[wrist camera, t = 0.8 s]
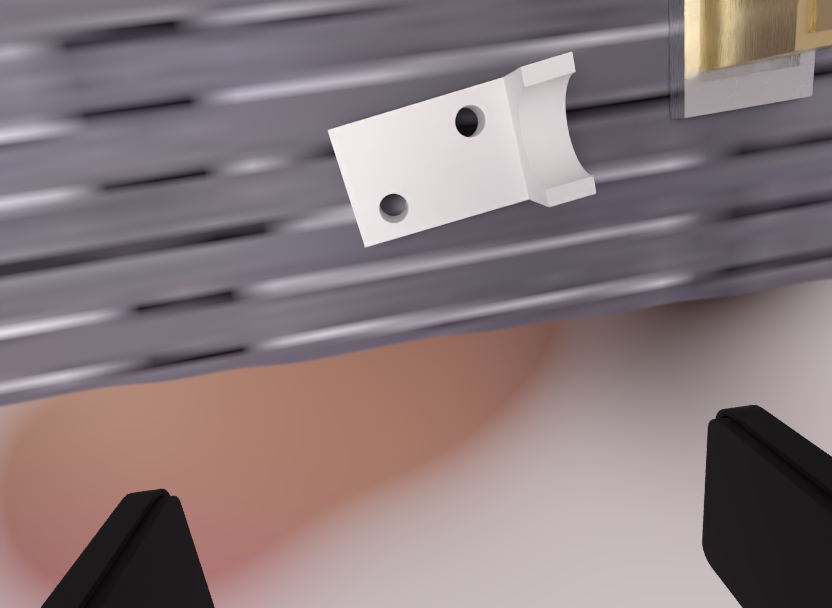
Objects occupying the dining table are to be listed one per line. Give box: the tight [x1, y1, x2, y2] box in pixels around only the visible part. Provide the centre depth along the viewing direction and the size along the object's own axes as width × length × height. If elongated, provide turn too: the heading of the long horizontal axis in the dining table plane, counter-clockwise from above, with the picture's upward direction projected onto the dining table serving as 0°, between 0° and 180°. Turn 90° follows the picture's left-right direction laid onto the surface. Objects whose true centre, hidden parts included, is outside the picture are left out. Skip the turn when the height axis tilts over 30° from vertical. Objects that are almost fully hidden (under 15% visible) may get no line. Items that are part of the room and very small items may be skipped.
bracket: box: [328, 52, 596, 247], centre depth 30 cm, size 13×7×8 cm, turn 106°
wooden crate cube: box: [699, 0, 832, 73], centre depth 27 cm, size 5×5×8 cm
